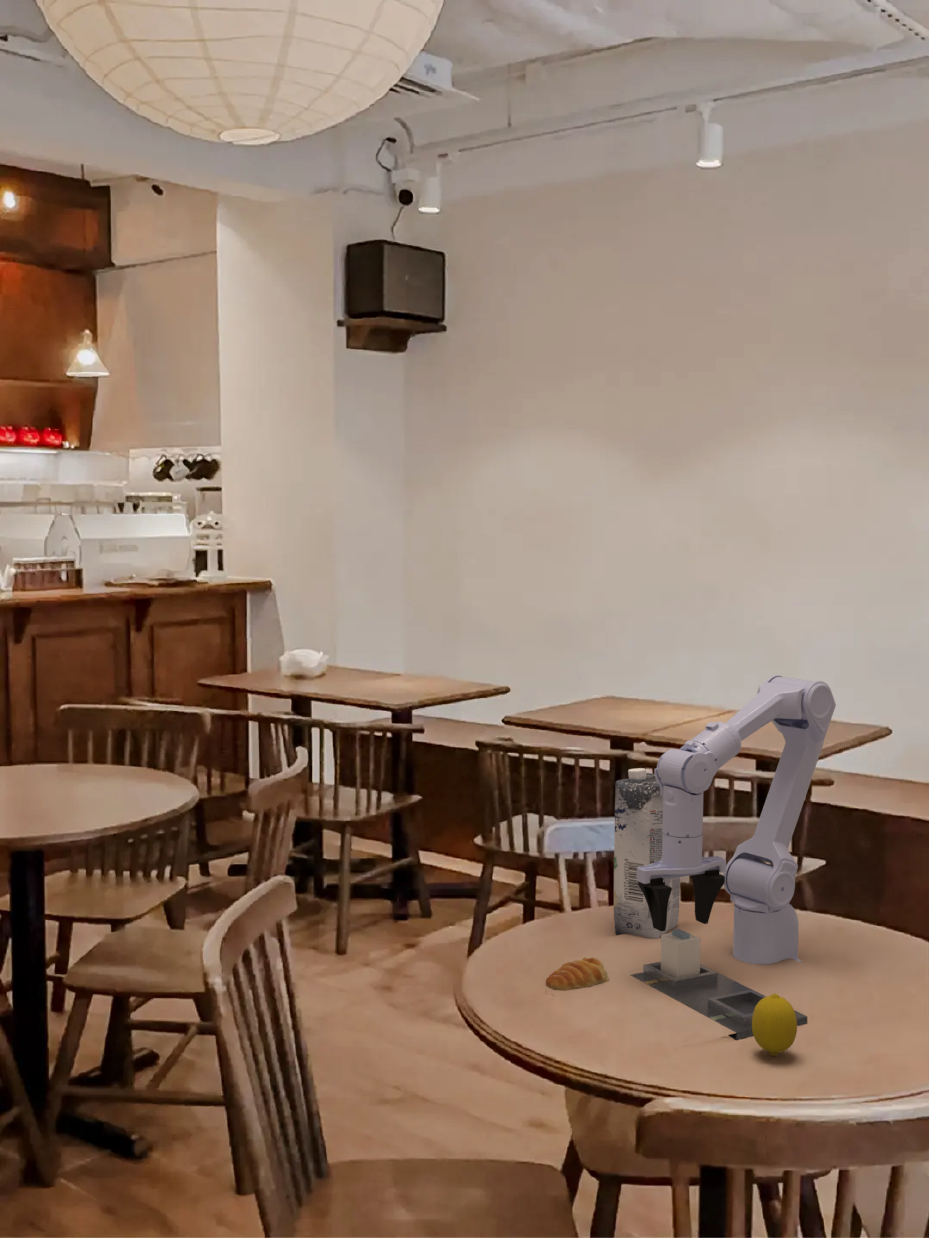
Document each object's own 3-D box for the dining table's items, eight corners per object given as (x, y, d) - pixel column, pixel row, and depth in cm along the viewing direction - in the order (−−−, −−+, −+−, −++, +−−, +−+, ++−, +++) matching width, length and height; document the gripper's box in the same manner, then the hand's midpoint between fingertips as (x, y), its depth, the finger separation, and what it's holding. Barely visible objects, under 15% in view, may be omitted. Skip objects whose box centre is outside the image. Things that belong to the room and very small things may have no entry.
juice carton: (684, 929, 213) (687, 767, 211) (658, 947, 205) (660, 778, 202) (634, 920, 218) (636, 762, 216) (607, 937, 209) (609, 772, 207)
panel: (696, 968, 195) (696, 954, 195) (807, 1023, 174) (807, 1007, 174) (630, 981, 189) (630, 966, 189) (736, 1039, 168) (736, 1023, 168)
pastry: (566, 1003, 181) (566, 976, 181) (533, 989, 187) (533, 963, 186) (613, 988, 187) (613, 962, 187) (580, 975, 193) (580, 950, 192)
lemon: (745, 1047, 166) (746, 986, 165) (787, 1046, 166) (789, 985, 166) (759, 1065, 160) (760, 1002, 160) (802, 1063, 161) (804, 1001, 160)
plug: (682, 970, 191) (683, 925, 191) (699, 978, 188) (700, 933, 187) (660, 974, 189) (661, 929, 189) (677, 983, 186) (678, 937, 185)
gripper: (705, 822, 194) (703, 911, 195) (624, 832, 187) (623, 924, 188) (735, 832, 188) (733, 924, 189) (653, 843, 181) (652, 938, 182)
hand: (680, 925), depth 188 cm, fingers open, 7 cm apart
